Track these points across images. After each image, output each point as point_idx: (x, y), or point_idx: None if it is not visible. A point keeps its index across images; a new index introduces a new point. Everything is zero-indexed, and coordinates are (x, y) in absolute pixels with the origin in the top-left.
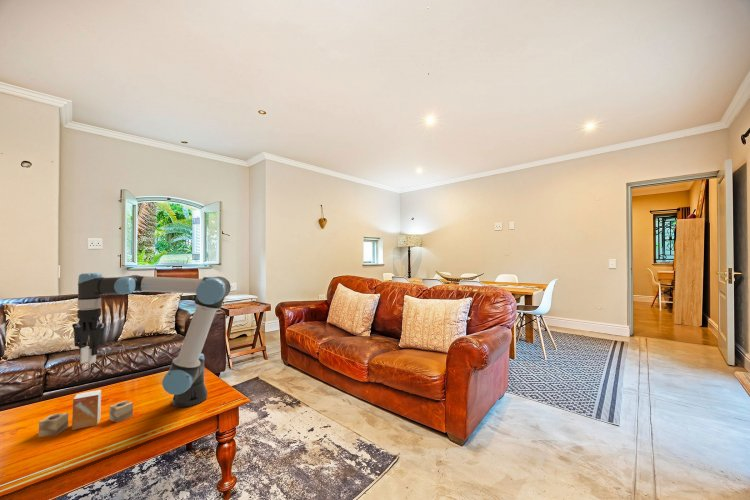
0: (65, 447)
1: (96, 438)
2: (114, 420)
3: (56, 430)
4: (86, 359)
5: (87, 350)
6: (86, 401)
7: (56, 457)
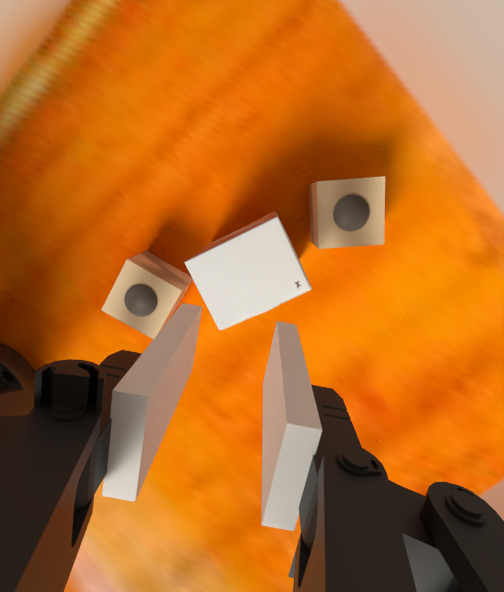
0: (204, 85)
1: (136, 138)
2: (160, 260)
3: (311, 183)
4: (266, 379)
5: (266, 462)
6: (228, 237)
7: (182, 15)
